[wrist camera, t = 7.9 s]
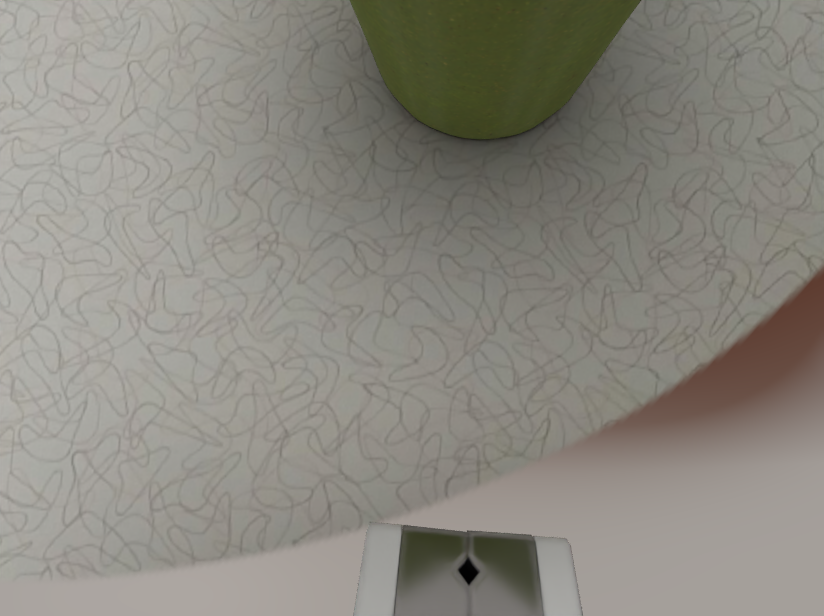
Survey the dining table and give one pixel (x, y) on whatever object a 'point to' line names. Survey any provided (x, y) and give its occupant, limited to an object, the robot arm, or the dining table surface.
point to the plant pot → (487, 57)
